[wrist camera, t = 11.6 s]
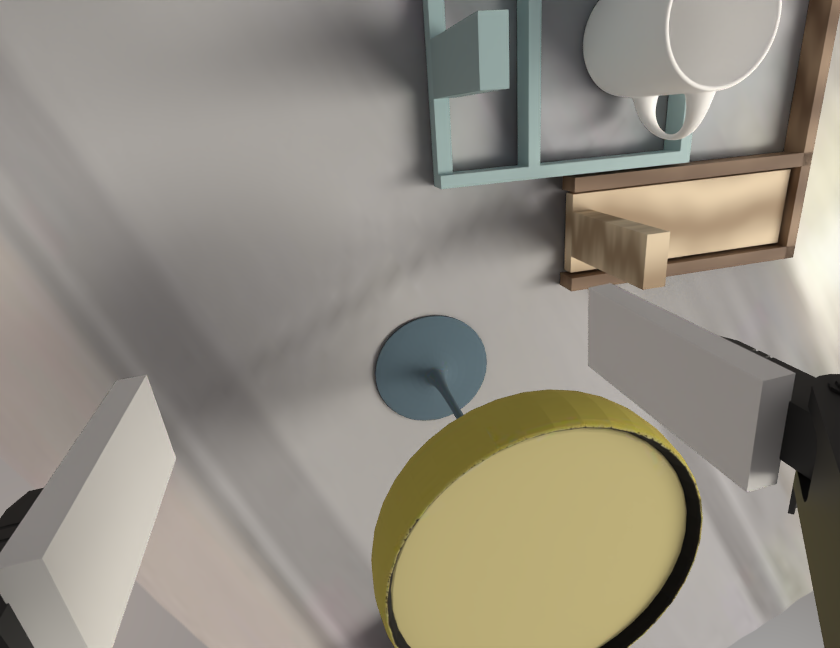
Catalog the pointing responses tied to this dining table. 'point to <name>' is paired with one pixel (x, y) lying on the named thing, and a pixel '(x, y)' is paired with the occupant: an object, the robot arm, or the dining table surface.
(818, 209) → the dining table surface
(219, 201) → the dining table surface
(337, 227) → the dining table surface
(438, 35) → the teal divided frame
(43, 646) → the robot arm
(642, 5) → the mug
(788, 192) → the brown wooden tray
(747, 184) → the light wood drawer
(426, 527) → the cocktail glass
